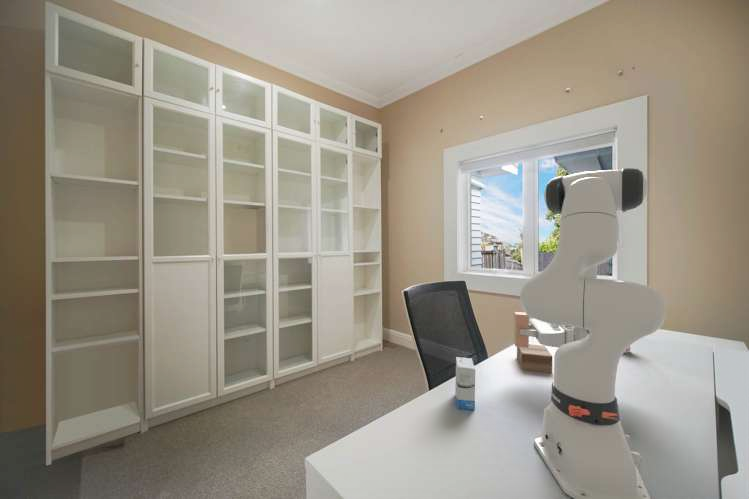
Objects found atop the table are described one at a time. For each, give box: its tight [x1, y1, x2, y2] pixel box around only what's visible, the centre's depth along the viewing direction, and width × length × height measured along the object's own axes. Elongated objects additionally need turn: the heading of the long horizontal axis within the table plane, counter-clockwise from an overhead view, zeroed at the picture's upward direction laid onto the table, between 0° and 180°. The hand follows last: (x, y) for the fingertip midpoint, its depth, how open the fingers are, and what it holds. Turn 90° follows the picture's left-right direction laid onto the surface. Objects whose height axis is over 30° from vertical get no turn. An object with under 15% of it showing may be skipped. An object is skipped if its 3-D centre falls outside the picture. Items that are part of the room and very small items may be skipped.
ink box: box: [454, 356, 476, 411], centre depth 88 cm, size 8×5×12 cm, turn 168°
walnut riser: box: [516, 343, 553, 374], centre depth 116 cm, size 12×10×6 cm
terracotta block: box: [513, 311, 530, 348], centre depth 104 cm, size 4×4×11 cm
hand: (518, 329), depth 104 cm, fingers closed on terracotta block, 4 cm apart
